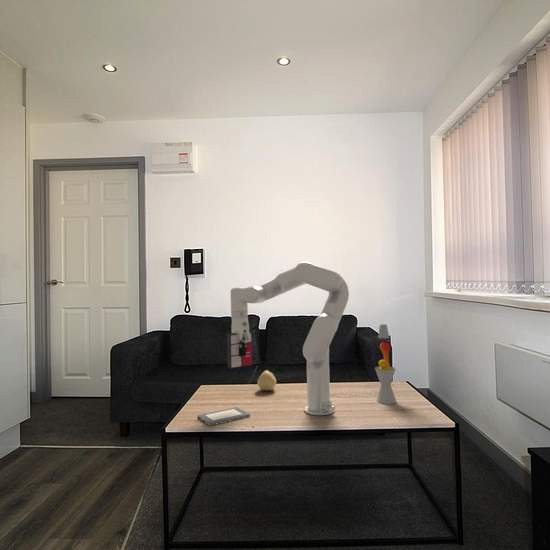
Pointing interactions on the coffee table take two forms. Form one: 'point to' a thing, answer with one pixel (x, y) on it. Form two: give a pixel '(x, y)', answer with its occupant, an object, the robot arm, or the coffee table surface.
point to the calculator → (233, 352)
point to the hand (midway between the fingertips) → (240, 355)
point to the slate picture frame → (223, 415)
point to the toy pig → (266, 381)
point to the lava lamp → (385, 371)
